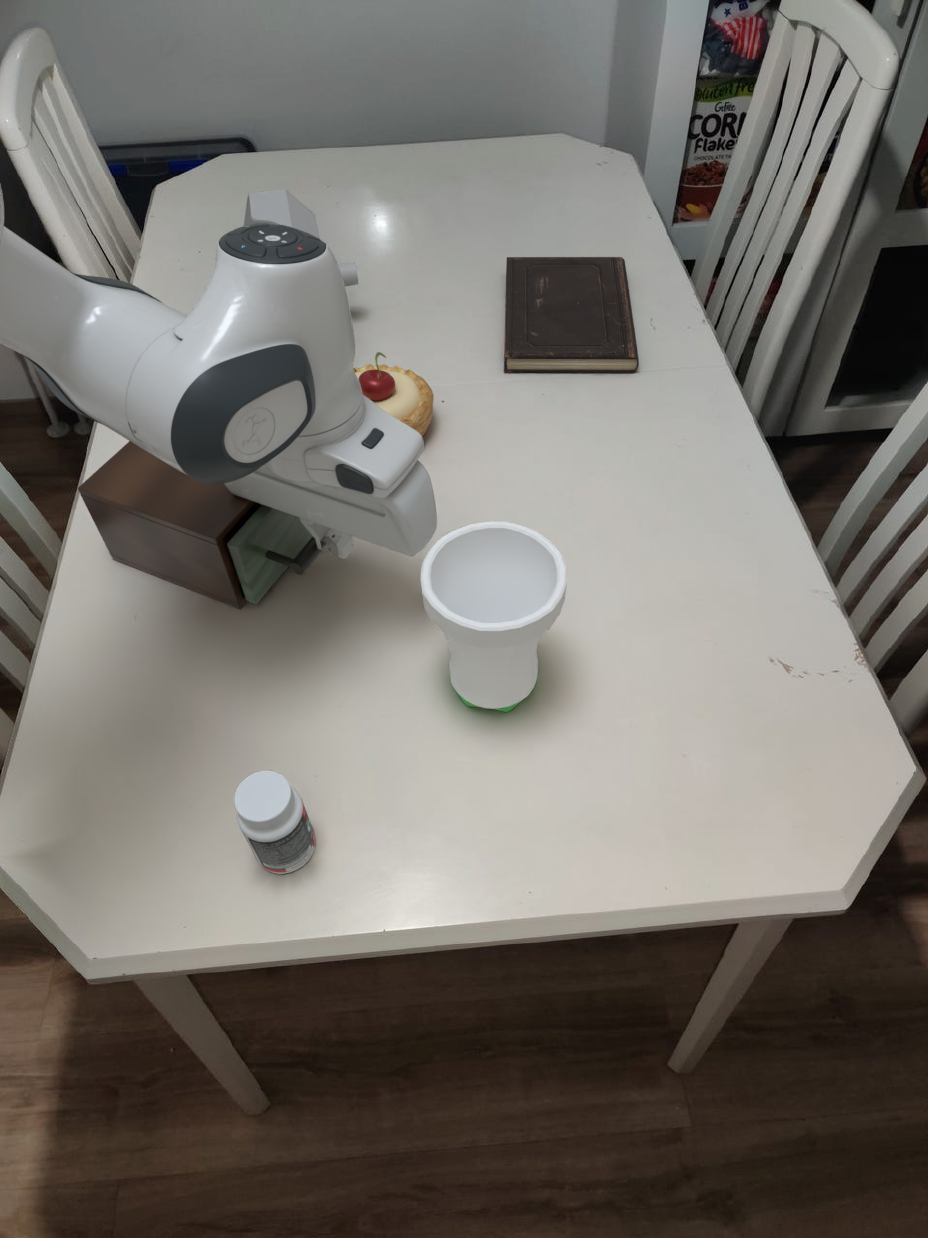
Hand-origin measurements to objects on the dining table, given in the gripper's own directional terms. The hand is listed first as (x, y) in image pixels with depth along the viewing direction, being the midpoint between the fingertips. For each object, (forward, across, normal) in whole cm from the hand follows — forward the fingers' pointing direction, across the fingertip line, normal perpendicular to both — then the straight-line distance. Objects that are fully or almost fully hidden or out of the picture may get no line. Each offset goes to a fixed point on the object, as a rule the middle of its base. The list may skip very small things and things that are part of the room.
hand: (336, 549), depth 80 cm
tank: (+5, -28, +36) cm, 46 cm away
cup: (+5, +18, -4) cm, 19 cm away
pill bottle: (+5, +10, -25) cm, 27 cm away
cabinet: (+5, -15, 0) cm, 16 cm away
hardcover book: (+5, +2, +51) cm, 52 cm away
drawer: (+4, -11, 0) cm, 12 cm away
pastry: (+5, -8, +22) cm, 24 cm away
